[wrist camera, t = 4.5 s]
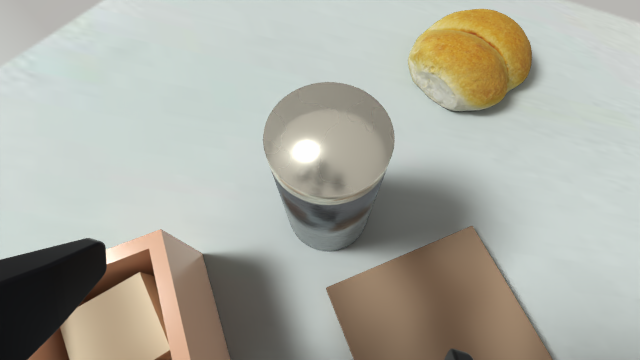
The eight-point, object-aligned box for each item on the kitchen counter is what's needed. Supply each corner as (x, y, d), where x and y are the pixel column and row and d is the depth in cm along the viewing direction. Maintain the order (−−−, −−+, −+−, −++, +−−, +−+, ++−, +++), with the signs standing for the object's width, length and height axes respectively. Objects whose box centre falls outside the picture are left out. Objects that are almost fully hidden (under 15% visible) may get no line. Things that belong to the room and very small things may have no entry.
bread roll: (537, 70, 28) (571, 30, 24) (467, 133, 25) (492, 100, 22) (458, 14, 30) (477, -29, 26) (387, 67, 28) (397, 28, 24)
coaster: (402, 481, 17) (405, 488, 16) (326, 289, 21) (326, 287, 20) (565, 394, 18) (575, 397, 18) (467, 228, 22) (472, 225, 21)
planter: (106, 425, 18) (12, 469, 13) (90, 296, 21) (5, 287, 15) (233, 368, 19) (196, 387, 14) (202, 253, 22) (160, 229, 16)
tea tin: (306, 263, 21) (290, 217, 12) (278, 193, 23) (246, 106, 14) (380, 232, 22) (418, 166, 13) (347, 166, 24) (359, 66, 15)
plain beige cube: (131, 388, 18) (82, 404, 14) (107, 319, 19) (57, 319, 16) (200, 344, 19) (170, 349, 15) (172, 281, 20) (139, 271, 17)
